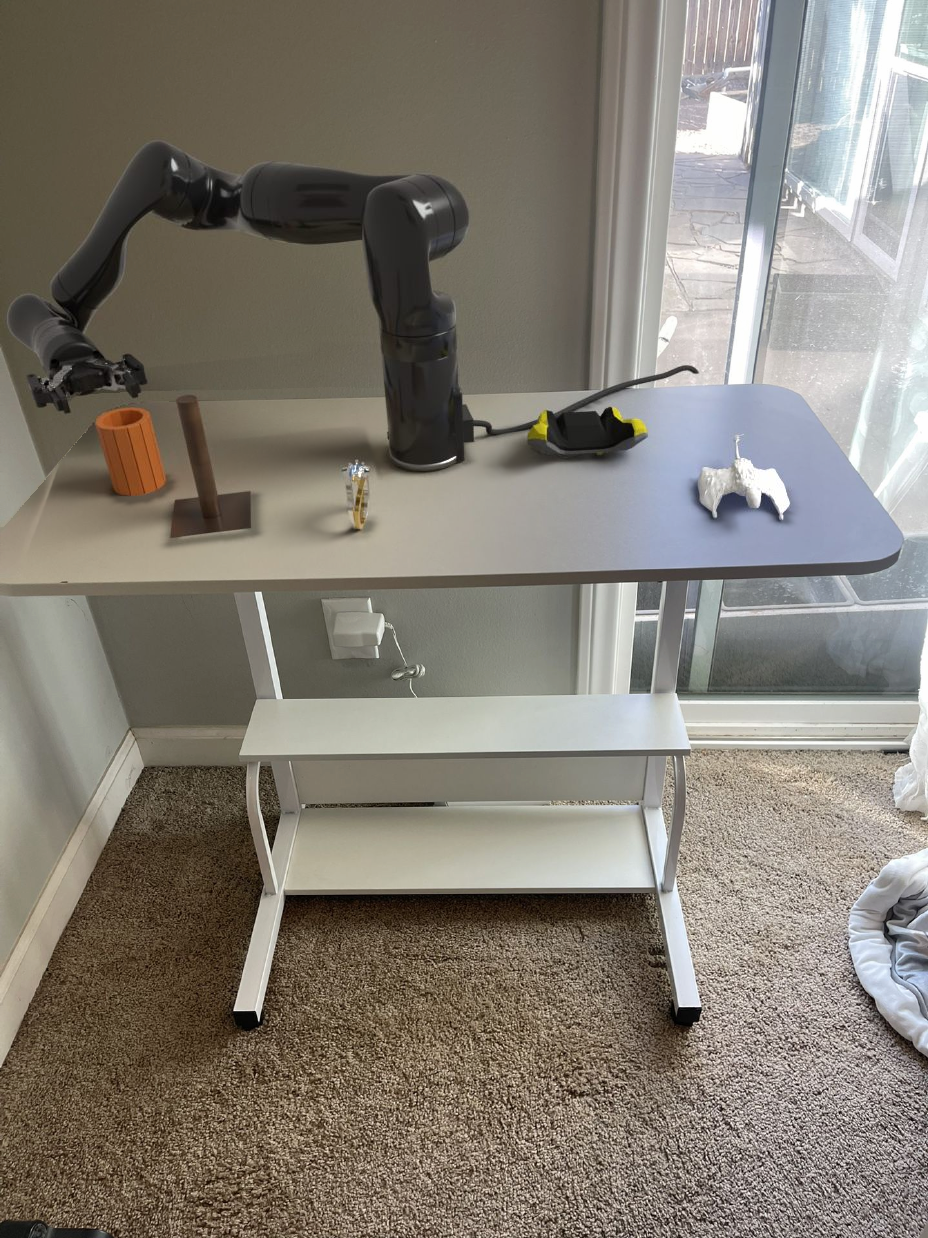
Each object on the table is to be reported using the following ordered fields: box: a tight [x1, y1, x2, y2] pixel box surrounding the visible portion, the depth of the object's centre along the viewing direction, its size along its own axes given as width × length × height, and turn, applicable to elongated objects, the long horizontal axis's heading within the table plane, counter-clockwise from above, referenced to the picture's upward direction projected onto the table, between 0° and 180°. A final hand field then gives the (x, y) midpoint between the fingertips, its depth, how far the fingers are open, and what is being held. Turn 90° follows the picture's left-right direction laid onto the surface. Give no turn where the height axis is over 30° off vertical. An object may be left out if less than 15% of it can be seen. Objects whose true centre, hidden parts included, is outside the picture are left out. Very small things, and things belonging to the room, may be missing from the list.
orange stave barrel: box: [94, 406, 167, 497], centre depth 112 cm, size 6×6×10 cm
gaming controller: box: [526, 405, 649, 459], centre depth 118 cm, size 15×6×10 cm
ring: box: [341, 459, 371, 531], centre depth 103 cm, size 7×3×8 cm, turn 171°
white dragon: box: [697, 433, 791, 521], centre depth 108 cm, size 18×10×4 cm, turn 174°
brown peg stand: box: [170, 394, 252, 539], centre depth 104 cm, size 9×9×15 cm
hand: (100, 398), depth 116 cm, fingers open, 8 cm apart
